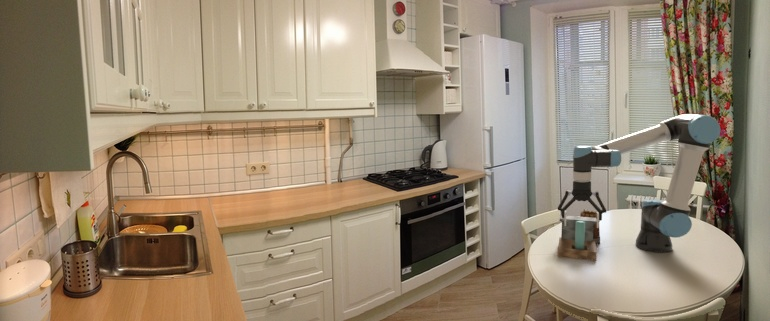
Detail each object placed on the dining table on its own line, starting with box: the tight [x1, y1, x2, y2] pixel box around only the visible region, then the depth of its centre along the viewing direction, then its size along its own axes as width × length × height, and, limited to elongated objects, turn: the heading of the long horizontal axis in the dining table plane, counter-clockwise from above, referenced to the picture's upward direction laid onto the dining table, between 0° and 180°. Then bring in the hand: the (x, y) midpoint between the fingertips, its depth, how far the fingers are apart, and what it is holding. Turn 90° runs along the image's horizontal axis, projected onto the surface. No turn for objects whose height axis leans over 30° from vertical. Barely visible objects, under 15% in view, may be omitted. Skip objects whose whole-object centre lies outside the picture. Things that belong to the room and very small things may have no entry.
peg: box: [575, 221, 585, 250], centre depth 206 cm, size 4×4×16 cm
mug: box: [579, 209, 601, 246], centre depth 227 cm, size 16×11×15 cm
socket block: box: [557, 214, 598, 262], centre depth 210 cm, size 16×17×15 cm
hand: (581, 226), depth 205 cm, fingers open, 13 cm apart
